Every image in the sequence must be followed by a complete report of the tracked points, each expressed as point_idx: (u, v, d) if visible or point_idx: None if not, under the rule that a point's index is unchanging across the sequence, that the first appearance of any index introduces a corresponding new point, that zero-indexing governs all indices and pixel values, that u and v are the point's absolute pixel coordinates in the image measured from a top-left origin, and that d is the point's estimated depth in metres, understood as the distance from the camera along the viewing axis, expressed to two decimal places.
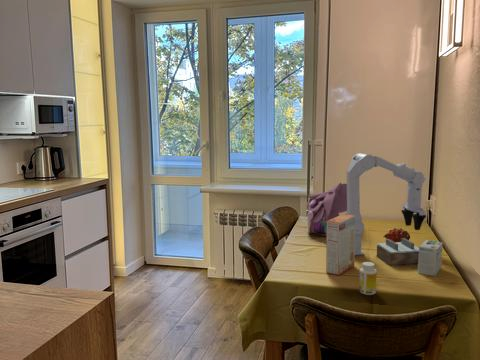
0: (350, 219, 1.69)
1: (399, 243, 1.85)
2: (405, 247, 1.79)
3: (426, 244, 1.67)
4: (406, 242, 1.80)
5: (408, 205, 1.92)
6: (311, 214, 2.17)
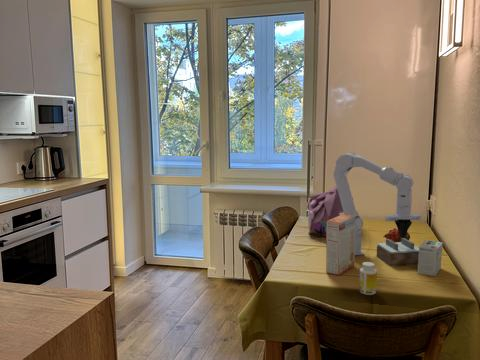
0: (350, 219, 1.69)
1: (399, 243, 1.85)
2: (405, 247, 1.79)
3: (426, 244, 1.67)
4: (406, 242, 1.80)
5: None
6: (312, 214, 2.17)
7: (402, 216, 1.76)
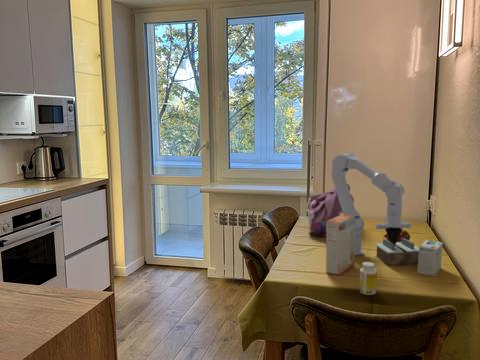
0: (350, 219, 1.69)
1: (399, 243, 1.85)
2: (405, 247, 1.79)
3: (426, 244, 1.67)
4: (406, 242, 1.80)
5: None
6: (312, 214, 2.17)
7: (392, 224, 1.76)
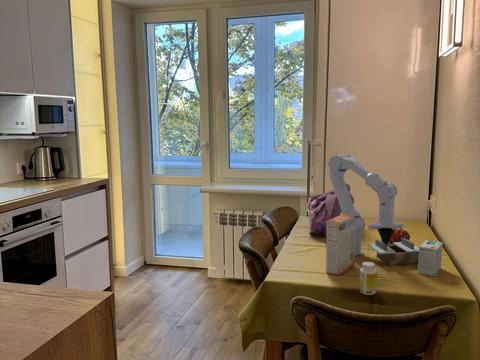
0: (350, 219, 1.69)
1: (399, 243, 1.85)
2: (405, 247, 1.79)
3: (426, 244, 1.67)
4: (406, 242, 1.80)
5: None
6: (312, 214, 2.17)
7: (384, 224, 1.75)
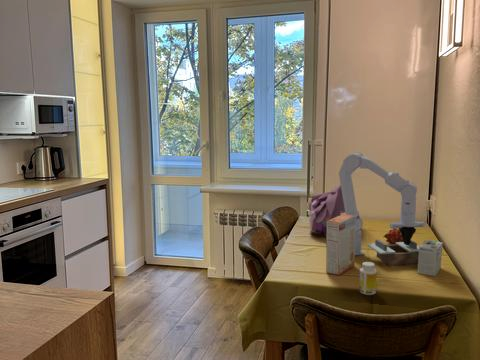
0: (350, 219, 1.69)
1: (402, 243, 1.85)
2: (408, 247, 1.79)
3: (426, 244, 1.67)
4: None
5: None
6: (313, 214, 2.16)
7: (406, 223, 1.77)
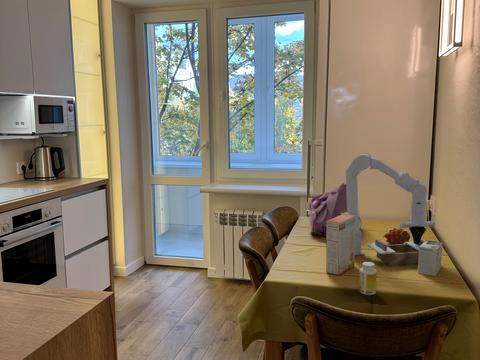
0: (350, 219, 1.69)
1: (411, 242, 1.86)
2: (418, 246, 1.80)
3: (426, 244, 1.67)
4: None
5: None
6: (314, 214, 2.16)
7: (416, 223, 1.77)
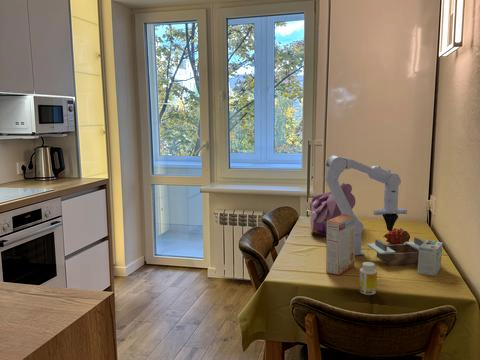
0: (350, 219, 1.69)
1: (412, 242, 1.86)
2: (418, 246, 1.80)
3: (426, 244, 1.67)
4: (419, 241, 1.81)
5: None
6: (314, 214, 2.16)
7: (389, 210, 1.87)
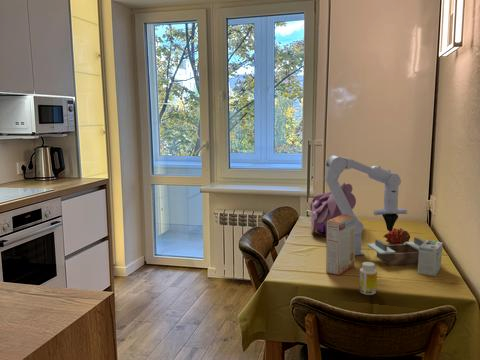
0: (350, 219, 1.69)
1: (412, 242, 1.86)
2: (418, 246, 1.80)
3: (426, 244, 1.67)
4: (419, 241, 1.81)
5: None
6: (315, 214, 2.16)
7: (389, 210, 1.87)
